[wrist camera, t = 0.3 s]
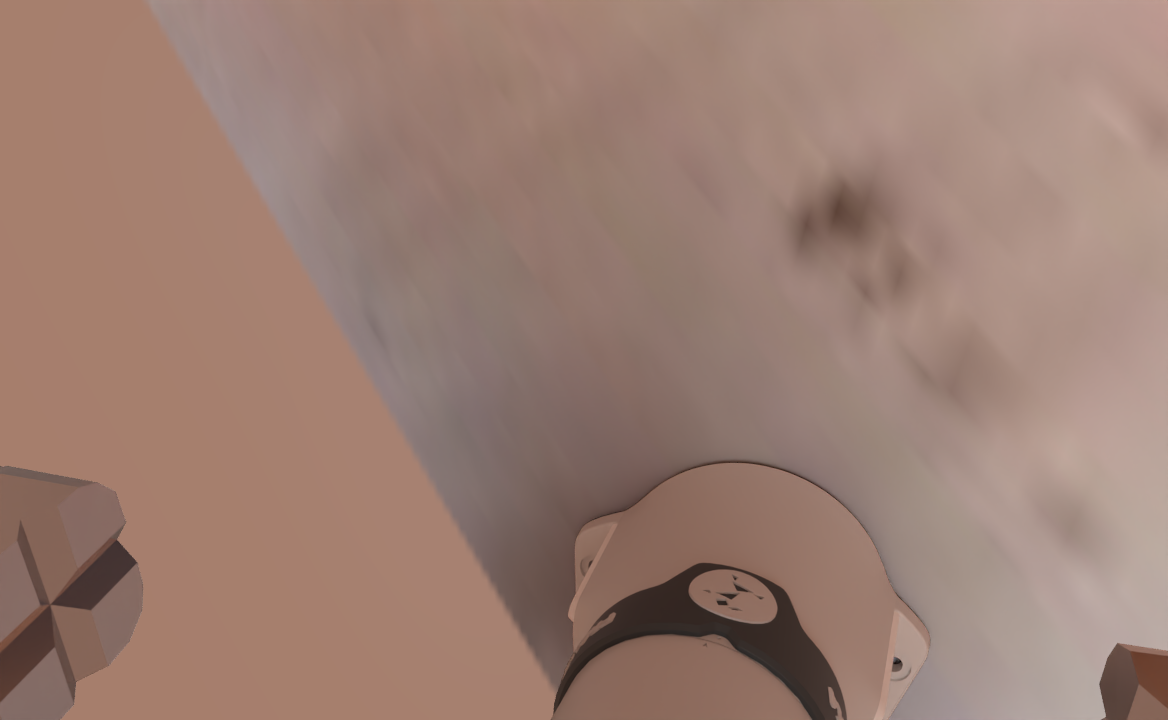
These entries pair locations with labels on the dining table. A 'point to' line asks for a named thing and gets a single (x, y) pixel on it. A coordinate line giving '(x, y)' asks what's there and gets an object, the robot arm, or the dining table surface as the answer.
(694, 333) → the dining table surface
